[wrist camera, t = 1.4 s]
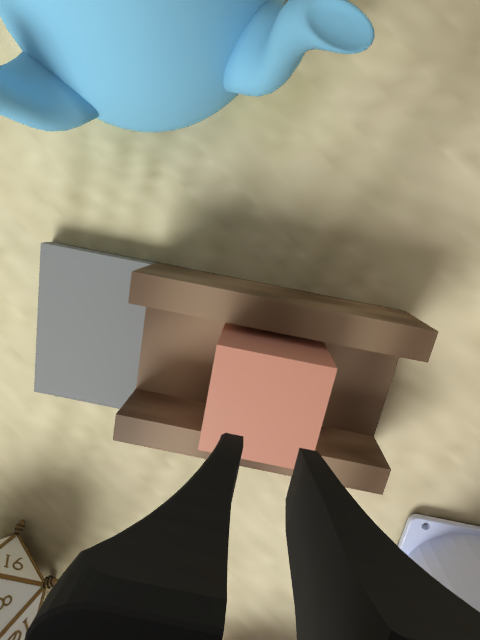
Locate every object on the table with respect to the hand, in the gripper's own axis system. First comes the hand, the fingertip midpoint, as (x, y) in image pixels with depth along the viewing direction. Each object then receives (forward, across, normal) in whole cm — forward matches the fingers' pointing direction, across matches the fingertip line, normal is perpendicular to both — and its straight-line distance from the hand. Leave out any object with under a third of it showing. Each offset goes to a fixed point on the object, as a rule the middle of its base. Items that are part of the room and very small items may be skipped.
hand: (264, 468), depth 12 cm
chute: (+10, 0, 0) cm, 10 cm away
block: (+9, 0, 0) cm, 9 cm away
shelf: (+10, +10, 0) cm, 14 cm away
